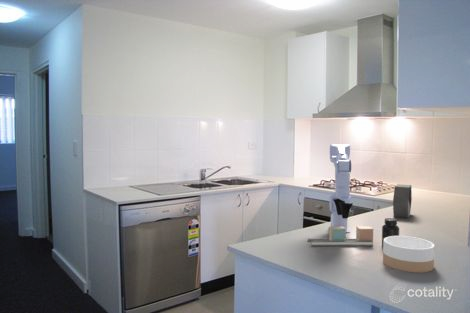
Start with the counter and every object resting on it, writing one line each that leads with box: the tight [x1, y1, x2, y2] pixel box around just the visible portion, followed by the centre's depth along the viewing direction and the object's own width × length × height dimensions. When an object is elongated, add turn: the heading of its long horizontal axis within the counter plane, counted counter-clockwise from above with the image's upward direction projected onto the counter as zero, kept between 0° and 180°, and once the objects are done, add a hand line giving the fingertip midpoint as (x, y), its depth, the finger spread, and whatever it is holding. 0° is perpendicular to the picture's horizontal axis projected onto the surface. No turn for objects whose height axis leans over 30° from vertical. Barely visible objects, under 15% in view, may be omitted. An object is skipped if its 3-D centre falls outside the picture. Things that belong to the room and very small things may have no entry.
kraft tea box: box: [328, 225, 347, 241], centre depth 165 cm, size 4×6×7 cm
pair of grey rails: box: [307, 238, 374, 247], centre depth 165 cm, size 8×26×2 cm, turn 91°
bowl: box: [382, 235, 436, 273], centre depth 140 cm, size 17×17×8 cm
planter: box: [392, 183, 413, 219], centre depth 218 cm, size 17×8×21 cm
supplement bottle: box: [381, 217, 400, 248], centre depth 159 cm, size 7×7×12 cm
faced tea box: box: [355, 225, 374, 242], centre depth 165 cm, size 4×6×7 cm
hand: (342, 216), depth 170 cm, fingers open, 7 cm apart
